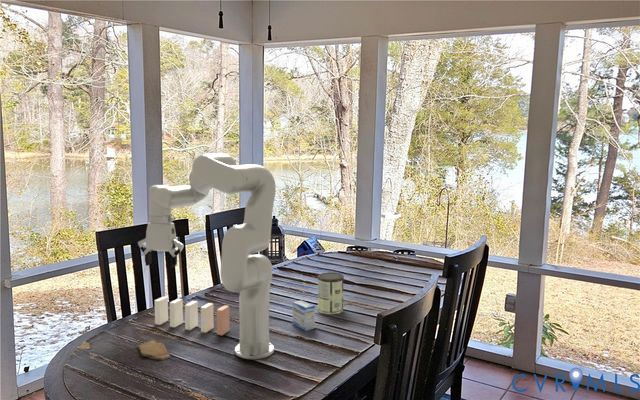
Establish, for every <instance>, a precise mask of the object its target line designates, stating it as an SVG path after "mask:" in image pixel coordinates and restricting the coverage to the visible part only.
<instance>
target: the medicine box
mask: <svg viewBox="0 0 640 400" xmlns="http://www.w3.org/2000/svg"><path fill="white" fill-rule="evenodd" d="M315 314H316V306H315V305H313V304H311V303H308V302H306V301H304V300H297V301H293V302H292V322H291V323H292V325H293V326H295V327H296V328H298V329H300V330H303V331H305V332H306V331H307V332H308V331H311V330H313V329H315V326H316V325H315V323H316V315H315Z"/></svg>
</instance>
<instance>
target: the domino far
mask: <svg viewBox="0 0 640 400" xmlns="http://www.w3.org/2000/svg"><path fill="white" fill-rule="evenodd" d="M167 322H169V297H168V296H161V297H158V298H157V299H154V323H155V324H154V325H158V326H161V325H163V324H165V323H167Z"/></svg>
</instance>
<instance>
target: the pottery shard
mask: <svg viewBox="0 0 640 400" xmlns="http://www.w3.org/2000/svg"><path fill="white" fill-rule="evenodd" d="M135 348H136V349H137V350H139V351H140V352H139V353H140V354H141V356H143V357H147V358H149V359H153V360H156V361H163V360H167V359H168V358H170V357H171V356H170V353H169V352H168V349H167V347H166V345H165V344H164V343H162V342H157V341H156V340H150V341H146V342H144V343H142V344H141V343H140V344H138V345H136V346H135Z"/></svg>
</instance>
